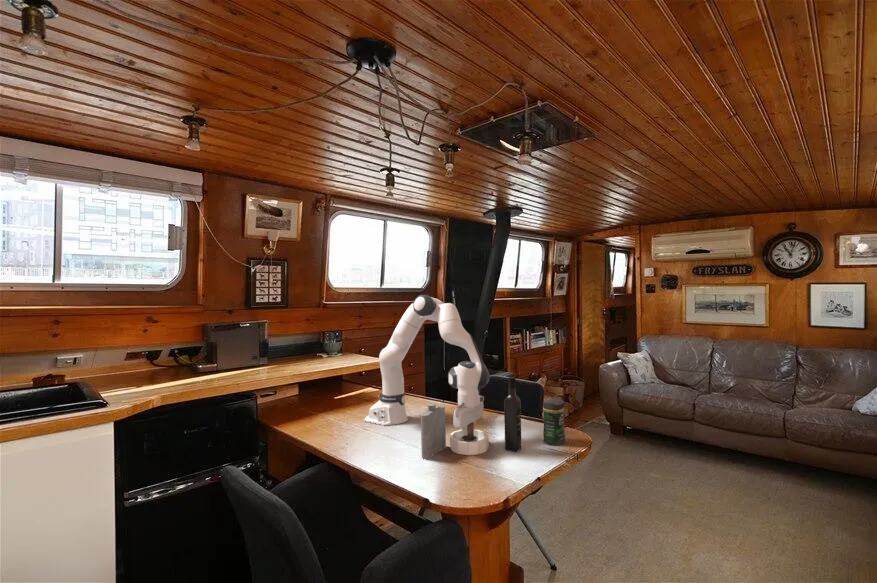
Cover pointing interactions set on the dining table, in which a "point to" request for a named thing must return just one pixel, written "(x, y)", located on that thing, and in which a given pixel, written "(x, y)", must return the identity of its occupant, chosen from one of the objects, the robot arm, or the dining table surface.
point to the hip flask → (433, 430)
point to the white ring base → (469, 443)
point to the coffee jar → (553, 421)
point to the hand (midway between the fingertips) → (468, 432)
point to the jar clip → (467, 440)
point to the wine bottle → (512, 418)
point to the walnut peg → (469, 432)
